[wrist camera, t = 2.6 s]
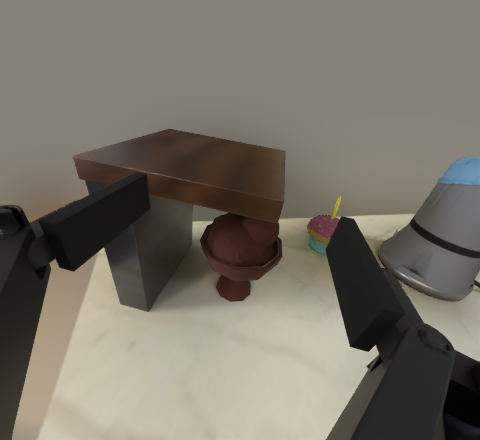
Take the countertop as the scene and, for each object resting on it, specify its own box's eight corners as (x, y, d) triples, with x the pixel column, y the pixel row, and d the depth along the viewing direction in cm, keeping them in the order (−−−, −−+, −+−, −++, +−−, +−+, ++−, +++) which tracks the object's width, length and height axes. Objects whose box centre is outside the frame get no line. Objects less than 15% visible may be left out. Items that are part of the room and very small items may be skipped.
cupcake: (300, 231, 48) (317, 185, 42) (336, 239, 48) (359, 193, 41) (303, 256, 41) (325, 203, 35) (346, 265, 41) (376, 214, 34)
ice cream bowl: (245, 255, 39) (260, 181, 31) (281, 304, 31) (314, 222, 23) (190, 270, 34) (191, 187, 26) (216, 332, 26) (229, 241, 18)
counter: (258, 257, 39) (285, 150, 28) (243, 342, 25) (284, 201, 15) (173, 237, 40) (169, 128, 30) (117, 307, 27) (71, 155, 16)
